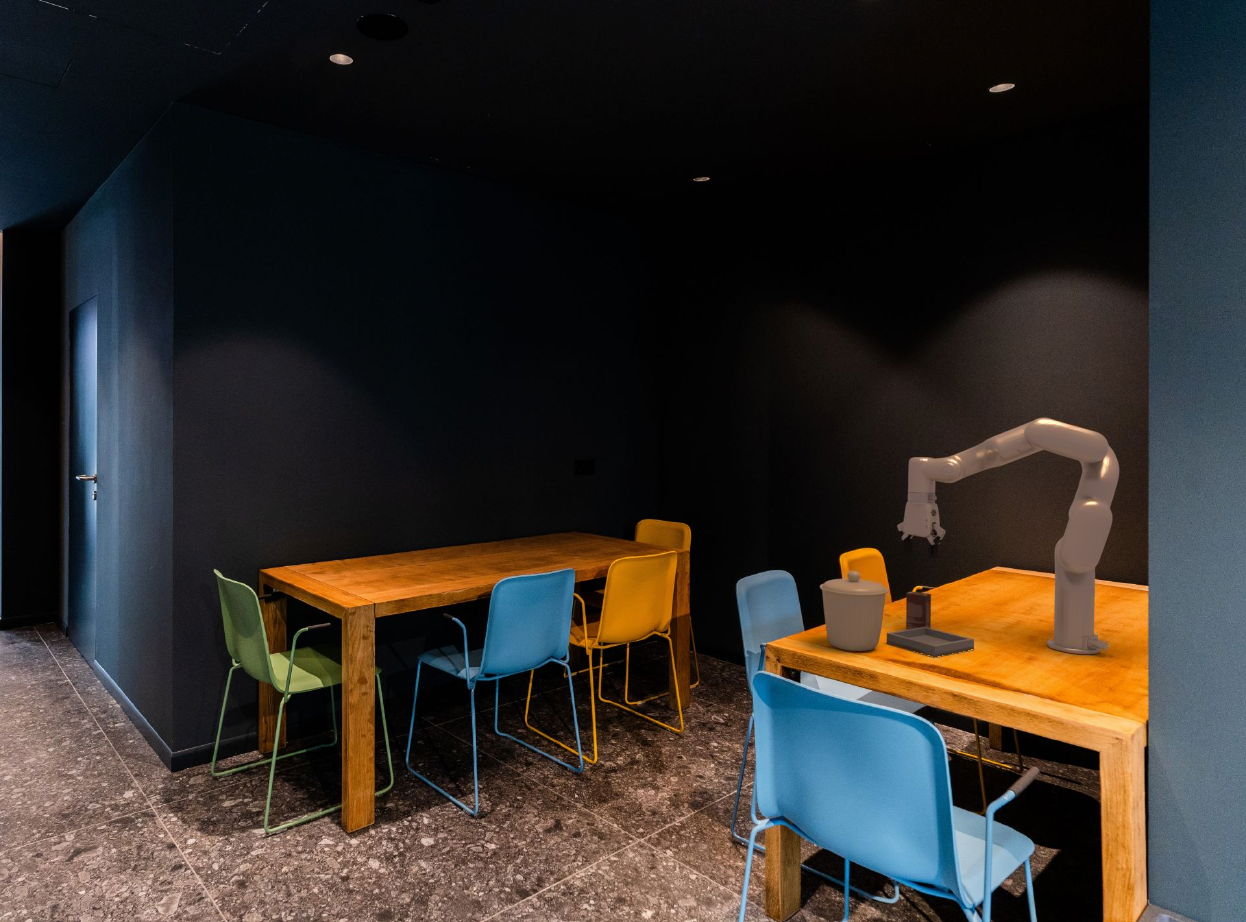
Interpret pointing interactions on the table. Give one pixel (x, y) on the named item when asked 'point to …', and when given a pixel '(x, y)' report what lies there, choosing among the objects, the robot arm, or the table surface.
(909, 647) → the tray
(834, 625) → the canister
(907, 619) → the box
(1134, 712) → the table surface
